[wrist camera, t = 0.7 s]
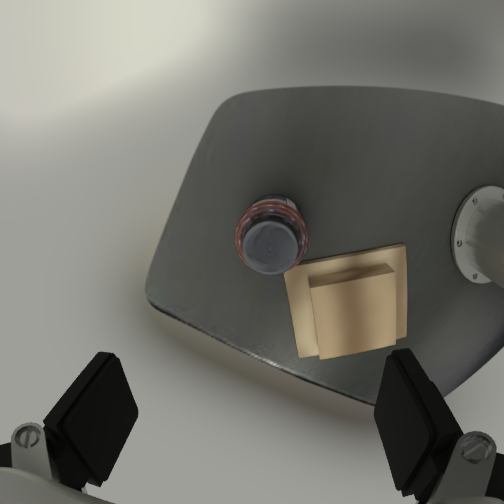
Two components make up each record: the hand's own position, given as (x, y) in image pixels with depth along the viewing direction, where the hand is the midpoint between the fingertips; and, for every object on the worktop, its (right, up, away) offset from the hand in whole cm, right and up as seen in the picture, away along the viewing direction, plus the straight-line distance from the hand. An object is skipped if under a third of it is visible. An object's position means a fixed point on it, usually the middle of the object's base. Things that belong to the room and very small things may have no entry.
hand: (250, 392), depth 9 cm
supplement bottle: (+2, +8, +23) cm, 24 cm away
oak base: (+11, -1, +24) cm, 27 cm away
